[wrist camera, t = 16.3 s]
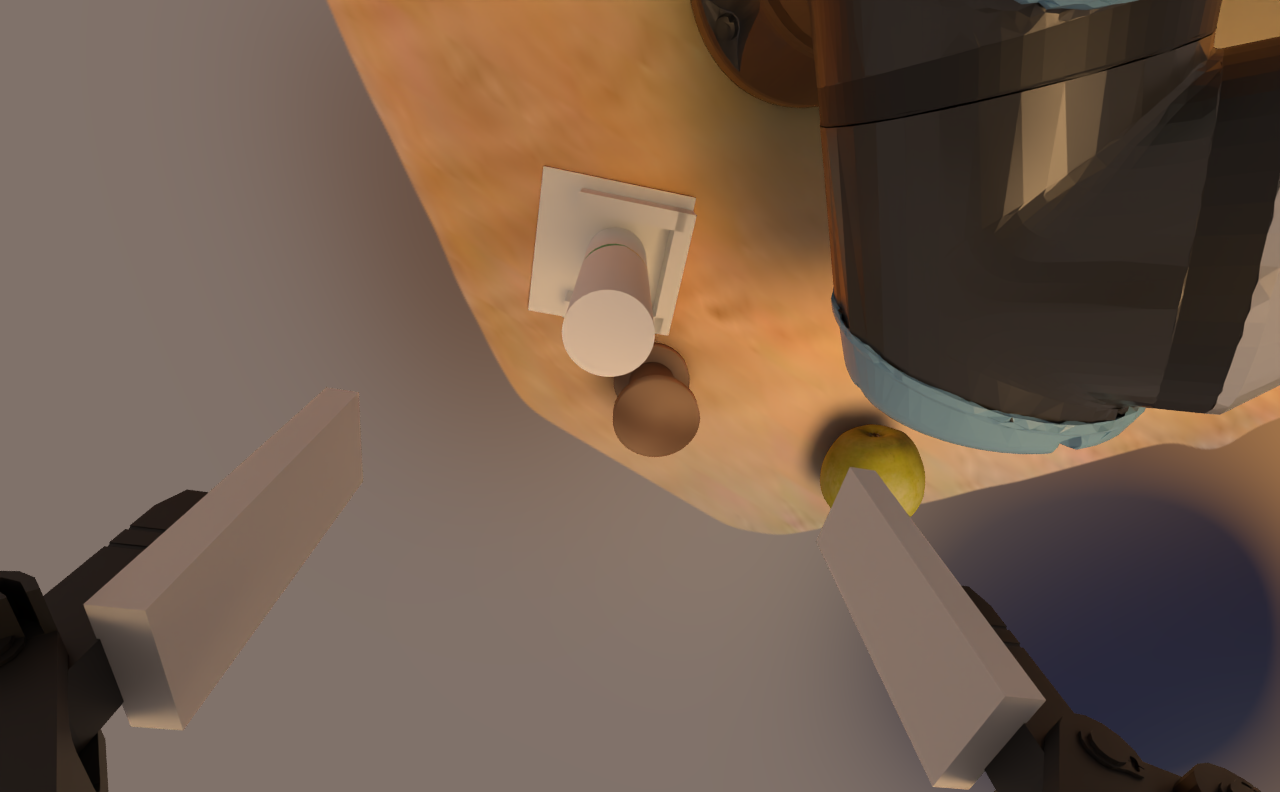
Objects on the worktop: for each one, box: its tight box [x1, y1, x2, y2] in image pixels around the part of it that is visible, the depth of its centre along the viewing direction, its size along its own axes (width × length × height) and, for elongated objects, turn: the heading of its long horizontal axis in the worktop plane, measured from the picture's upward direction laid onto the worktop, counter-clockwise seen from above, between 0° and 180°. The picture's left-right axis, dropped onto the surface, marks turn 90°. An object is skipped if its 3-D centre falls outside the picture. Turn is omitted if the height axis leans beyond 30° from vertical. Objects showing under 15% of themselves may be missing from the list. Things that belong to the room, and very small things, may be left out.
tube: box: [562, 227, 655, 377], centre depth 31 cm, size 4×4×15 cm
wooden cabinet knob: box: [613, 343, 700, 457], centre depth 39 cm, size 6×6×7 cm
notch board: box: [528, 166, 697, 336], centre depth 37 cm, size 10×10×3 cm
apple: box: [820, 424, 925, 517], centre depth 43 cm, size 8×9×8 cm
